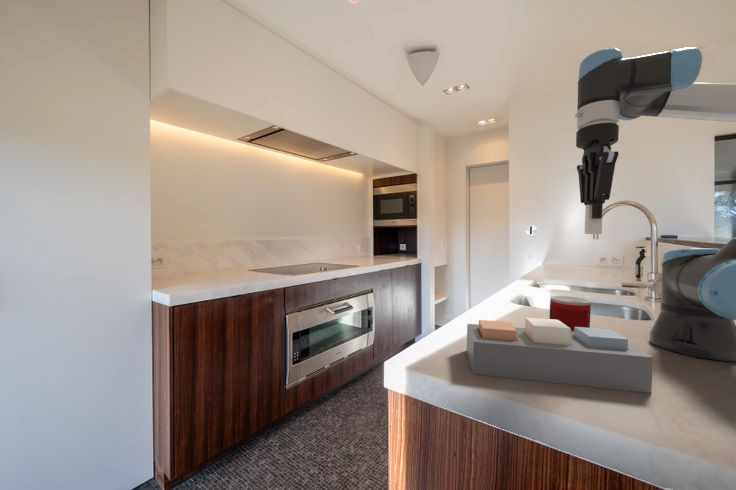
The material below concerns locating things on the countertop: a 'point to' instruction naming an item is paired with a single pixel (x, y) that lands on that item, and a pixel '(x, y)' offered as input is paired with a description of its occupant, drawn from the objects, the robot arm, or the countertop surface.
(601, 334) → the slate key
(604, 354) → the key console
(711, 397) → the countertop surface
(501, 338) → the terracotta key
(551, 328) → the ivory key
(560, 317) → the canned food
